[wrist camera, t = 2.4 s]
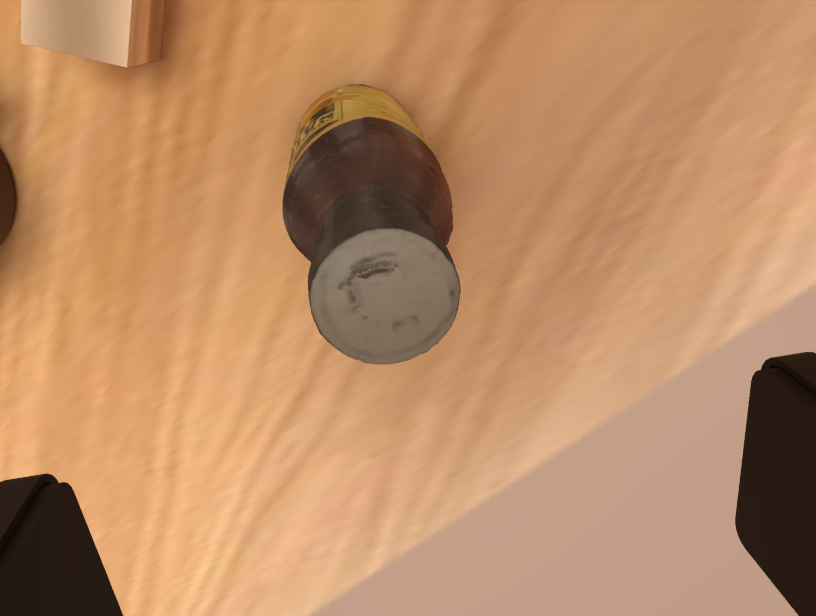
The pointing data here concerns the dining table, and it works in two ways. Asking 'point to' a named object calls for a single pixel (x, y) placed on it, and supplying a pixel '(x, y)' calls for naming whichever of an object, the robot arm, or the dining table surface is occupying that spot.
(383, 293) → the sauce bottle
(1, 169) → the mug
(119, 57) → the beech block
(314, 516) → the dining table surface
